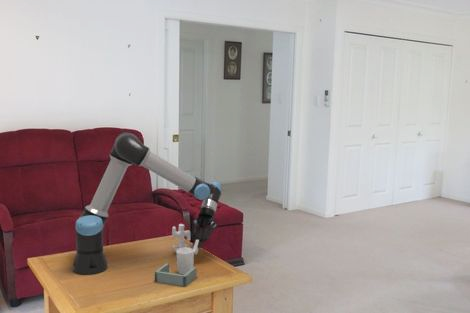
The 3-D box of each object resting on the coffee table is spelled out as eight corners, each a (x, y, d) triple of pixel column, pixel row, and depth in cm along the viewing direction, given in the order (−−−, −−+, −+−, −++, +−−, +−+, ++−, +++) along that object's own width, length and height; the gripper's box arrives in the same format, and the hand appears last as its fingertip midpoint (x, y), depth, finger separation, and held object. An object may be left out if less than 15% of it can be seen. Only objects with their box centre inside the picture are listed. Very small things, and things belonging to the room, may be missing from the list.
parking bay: (154, 281, 203) (154, 271, 203) (166, 272, 214) (166, 263, 213) (185, 286, 199) (185, 276, 198) (196, 277, 209) (196, 267, 209)
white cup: (191, 275, 211) (191, 254, 209) (174, 274, 212) (174, 252, 211) (196, 269, 218) (196, 248, 217) (179, 268, 220) (179, 247, 218)
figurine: (192, 254, 239) (193, 225, 237) (175, 257, 234) (175, 227, 232) (187, 250, 245) (187, 221, 243) (170, 252, 241) (170, 223, 239)
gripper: (222, 215, 237) (209, 258, 224) (198, 213, 241) (184, 255, 228) (218, 207, 231) (205, 251, 218) (193, 205, 236) (179, 248, 222)
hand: (194, 253), depth 223 cm, fingers closed
